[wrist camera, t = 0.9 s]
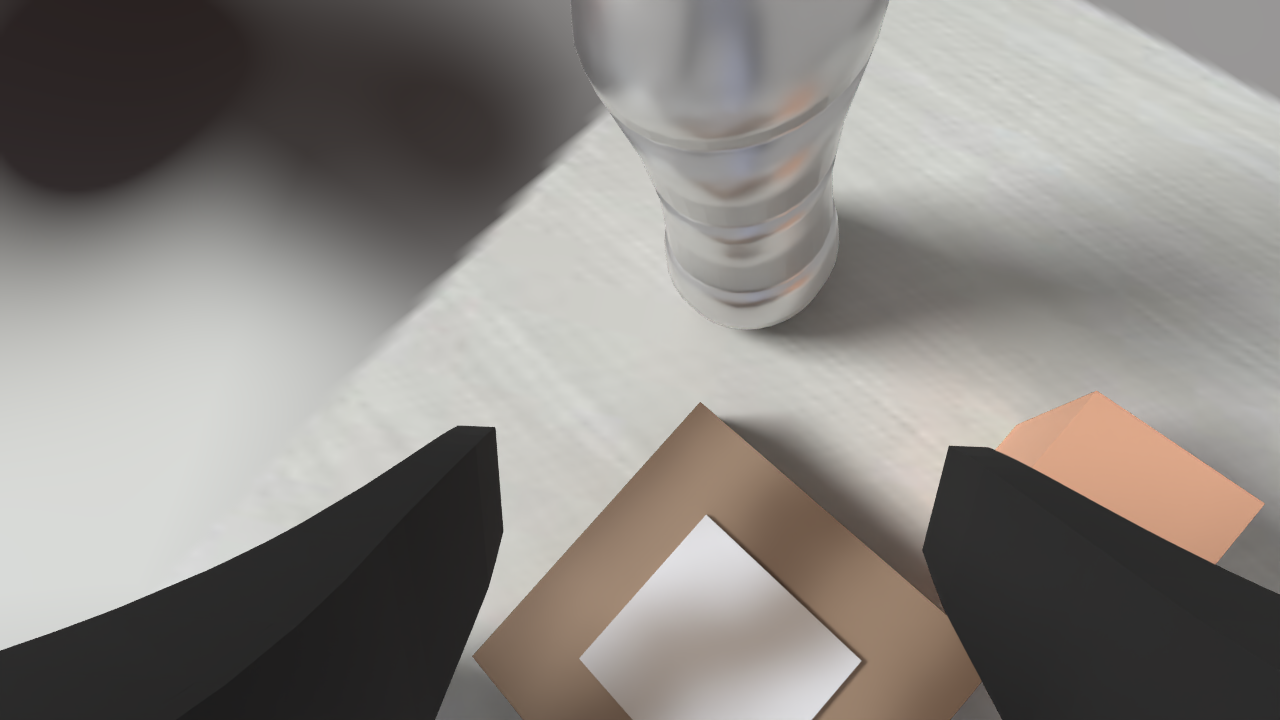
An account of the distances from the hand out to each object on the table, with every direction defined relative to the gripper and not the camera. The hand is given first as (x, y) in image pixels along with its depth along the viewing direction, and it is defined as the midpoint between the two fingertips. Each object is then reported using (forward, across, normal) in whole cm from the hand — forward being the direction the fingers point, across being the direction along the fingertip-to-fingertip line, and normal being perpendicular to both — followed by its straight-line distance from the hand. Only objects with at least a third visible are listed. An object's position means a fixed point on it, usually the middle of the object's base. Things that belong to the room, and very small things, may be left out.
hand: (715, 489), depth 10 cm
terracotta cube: (+10, -13, +8) cm, 18 cm away
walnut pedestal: (+9, -2, +13) cm, 15 cm away
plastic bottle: (+18, -3, +1) cm, 18 cm away
